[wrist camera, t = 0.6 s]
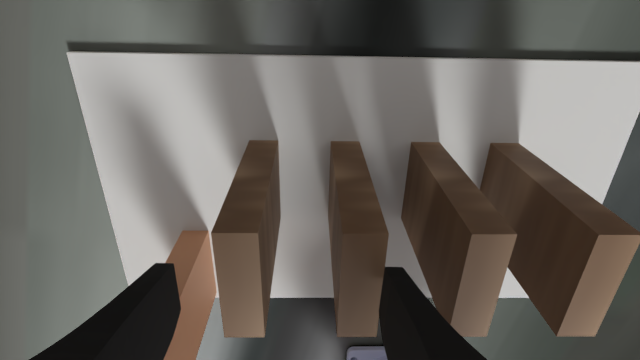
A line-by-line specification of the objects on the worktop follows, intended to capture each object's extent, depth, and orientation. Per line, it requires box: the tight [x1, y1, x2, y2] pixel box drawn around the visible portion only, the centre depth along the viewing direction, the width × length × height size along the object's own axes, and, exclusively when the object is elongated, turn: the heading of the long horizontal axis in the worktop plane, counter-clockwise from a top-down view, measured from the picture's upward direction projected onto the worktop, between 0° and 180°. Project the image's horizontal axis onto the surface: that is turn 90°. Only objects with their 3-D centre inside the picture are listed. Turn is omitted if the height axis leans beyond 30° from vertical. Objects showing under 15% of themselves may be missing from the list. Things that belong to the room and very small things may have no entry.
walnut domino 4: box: [480, 143, 640, 336], centre depth 19 cm, size 2×5×9 cm, turn 179°
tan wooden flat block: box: [164, 231, 217, 360], centre depth 21 cm, size 2×5×9 cm, turn 179°
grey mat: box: [67, 51, 640, 298], centre depth 23 cm, size 16×30×1 cm, turn 89°
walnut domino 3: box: [401, 142, 517, 337], centre depth 18 cm, size 2×5×9 cm, turn 179°
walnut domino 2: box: [328, 141, 389, 337], centre depth 18 cm, size 2×5×9 cm, turn 179°
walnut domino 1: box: [211, 140, 281, 337], centre depth 18 cm, size 2×5×9 cm, turn 179°
